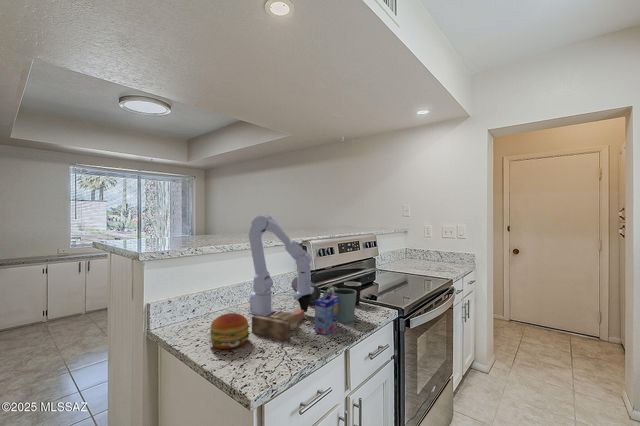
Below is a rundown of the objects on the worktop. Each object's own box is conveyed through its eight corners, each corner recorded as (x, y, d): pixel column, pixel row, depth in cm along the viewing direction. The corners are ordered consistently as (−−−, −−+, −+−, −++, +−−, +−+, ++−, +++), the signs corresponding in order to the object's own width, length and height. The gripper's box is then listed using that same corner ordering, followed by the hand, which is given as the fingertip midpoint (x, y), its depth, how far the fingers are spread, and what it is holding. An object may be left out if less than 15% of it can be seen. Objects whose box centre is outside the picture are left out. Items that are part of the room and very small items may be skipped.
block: (270, 328, 115) (270, 316, 115) (280, 322, 121) (280, 311, 121) (287, 332, 111) (287, 319, 111) (297, 326, 117) (297, 314, 117)
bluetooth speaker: (290, 294, 163) (290, 276, 163) (306, 292, 167) (305, 274, 167) (304, 306, 142) (303, 285, 142) (321, 303, 146) (321, 283, 146)
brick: (287, 323, 121) (287, 314, 121) (297, 316, 129) (297, 309, 128) (294, 324, 120) (294, 316, 120) (304, 318, 127) (304, 310, 127)
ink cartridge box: (326, 335, 108) (326, 296, 108) (314, 332, 111) (313, 294, 111) (339, 326, 117) (338, 290, 117) (326, 323, 120) (326, 288, 120)
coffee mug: (364, 303, 147) (364, 282, 147) (356, 307, 139) (356, 286, 139) (343, 299, 153) (343, 280, 153) (335, 303, 146) (335, 283, 145)
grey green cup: (327, 319, 124) (327, 291, 124) (342, 313, 132) (342, 286, 132) (346, 325, 118) (346, 295, 117) (361, 319, 125) (361, 290, 125)
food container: (337, 316, 128) (337, 293, 128) (323, 315, 130) (323, 292, 130) (340, 307, 140) (340, 286, 140) (328, 306, 142) (328, 285, 142)
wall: (251, 332, 111) (251, 316, 111) (255, 330, 113) (255, 315, 113) (287, 340, 104) (287, 323, 104) (290, 338, 106) (290, 322, 106)
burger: (210, 355, 94) (209, 324, 94) (208, 339, 106) (207, 311, 106) (252, 347, 99) (252, 318, 99) (245, 332, 112) (245, 306, 111)
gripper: (303, 285, 122) (303, 318, 122) (319, 278, 135) (319, 308, 135) (289, 283, 125) (289, 315, 125) (306, 277, 138) (306, 305, 138)
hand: (304, 311), depth 130 cm, fingers closed
